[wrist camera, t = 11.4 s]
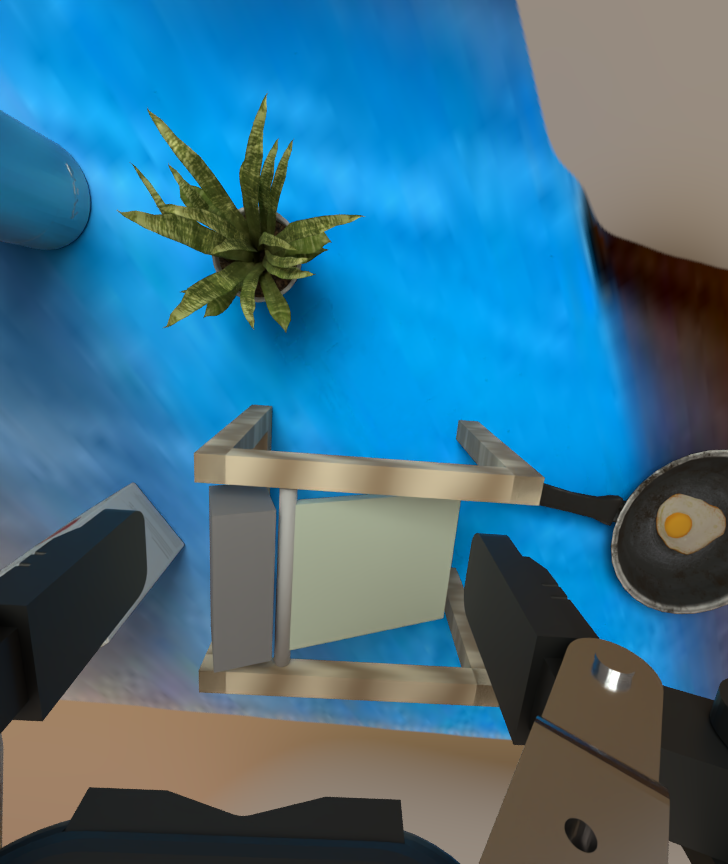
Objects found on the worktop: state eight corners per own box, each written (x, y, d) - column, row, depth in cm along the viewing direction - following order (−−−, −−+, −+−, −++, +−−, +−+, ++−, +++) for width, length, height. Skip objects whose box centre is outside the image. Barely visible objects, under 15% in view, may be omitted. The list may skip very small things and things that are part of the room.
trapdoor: (211, 637, 35) (213, 686, 30) (208, 470, 31) (211, 498, 27) (417, 599, 42) (445, 634, 37) (435, 459, 38) (468, 479, 34)
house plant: (339, 152, 37) (327, 31, 22) (375, 312, 41) (387, 308, 25) (183, 193, 38) (61, 104, 22) (231, 347, 42) (155, 365, 26)
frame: (249, 571, 48) (199, 692, 32) (252, 404, 43) (194, 453, 28) (453, 583, 49) (498, 706, 33) (478, 421, 44) (544, 477, 28)
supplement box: (134, 478, 45) (29, 555, 30) (187, 544, 47) (112, 645, 32) (67, 520, 46) (-65, 613, 31) (122, 582, 48) (20, 697, 33)
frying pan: (715, 612, 51) (743, 634, 47) (460, 548, 48) (469, 567, 44) (798, 466, 46) (835, 479, 42) (521, 386, 43) (536, 392, 40)
